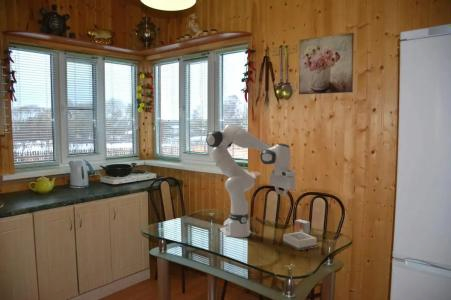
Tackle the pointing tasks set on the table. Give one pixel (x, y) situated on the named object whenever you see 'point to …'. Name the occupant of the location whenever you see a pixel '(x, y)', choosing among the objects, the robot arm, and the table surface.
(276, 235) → the table surface
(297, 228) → the small box
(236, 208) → the robot arm
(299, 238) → the keeper plate
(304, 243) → the link
